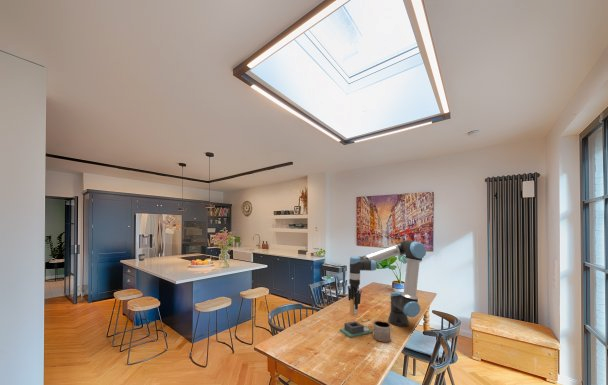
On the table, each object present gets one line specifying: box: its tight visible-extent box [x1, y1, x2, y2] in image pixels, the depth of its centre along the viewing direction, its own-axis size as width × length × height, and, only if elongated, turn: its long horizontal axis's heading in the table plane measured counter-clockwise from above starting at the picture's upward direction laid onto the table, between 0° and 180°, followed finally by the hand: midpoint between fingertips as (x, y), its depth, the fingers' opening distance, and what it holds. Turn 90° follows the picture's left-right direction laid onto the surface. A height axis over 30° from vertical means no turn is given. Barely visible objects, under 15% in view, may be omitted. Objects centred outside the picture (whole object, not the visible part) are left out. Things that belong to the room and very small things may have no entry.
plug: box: [349, 299, 359, 316], centre depth 182 cm, size 4×3×10 cm, turn 116°
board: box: [339, 320, 374, 339], centre depth 181 cm, size 20×12×5 cm, turn 116°
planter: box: [373, 320, 391, 343], centre depth 172 cm, size 11×11×10 cm
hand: (353, 312), depth 181 cm, fingers closed on plug, 3 cm apart
